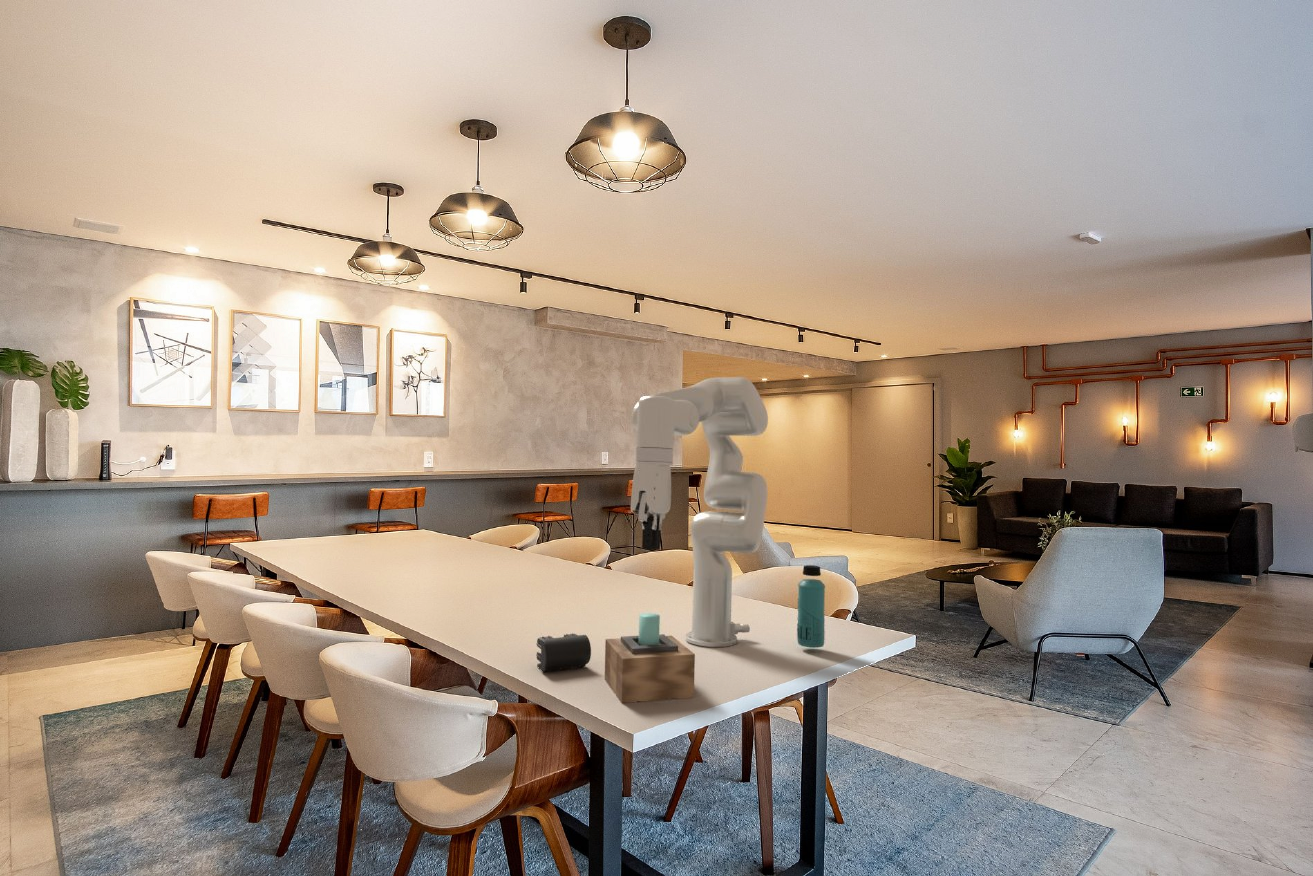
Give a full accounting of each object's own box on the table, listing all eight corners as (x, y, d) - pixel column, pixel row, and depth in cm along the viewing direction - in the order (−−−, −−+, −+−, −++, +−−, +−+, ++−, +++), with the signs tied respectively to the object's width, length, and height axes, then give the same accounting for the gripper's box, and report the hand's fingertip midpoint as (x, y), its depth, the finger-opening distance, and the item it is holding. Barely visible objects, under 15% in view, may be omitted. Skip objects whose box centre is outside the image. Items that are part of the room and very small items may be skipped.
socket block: (670, 674, 146) (671, 630, 146) (693, 697, 133) (695, 649, 133) (604, 679, 142) (605, 634, 142) (621, 703, 129) (622, 653, 129)
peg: (655, 658, 140) (656, 612, 140) (661, 664, 136) (662, 617, 136) (635, 659, 139) (636, 613, 139) (641, 665, 135) (642, 618, 135)
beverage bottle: (827, 649, 168) (828, 564, 169) (821, 656, 162) (823, 568, 163) (800, 645, 171) (801, 562, 172) (793, 652, 165) (795, 566, 166)
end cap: (545, 676, 143) (546, 643, 143) (534, 667, 149) (535, 634, 149) (591, 670, 148) (591, 638, 148) (578, 661, 154) (579, 630, 154)
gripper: (652, 458, 150) (649, 545, 149) (621, 455, 137) (617, 551, 136) (685, 459, 147) (682, 548, 146) (656, 456, 134) (652, 554, 133)
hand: (650, 549), depth 141 cm, fingers closed
